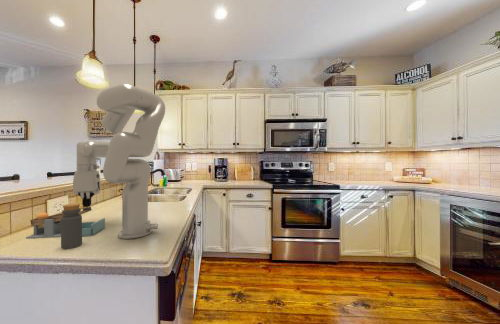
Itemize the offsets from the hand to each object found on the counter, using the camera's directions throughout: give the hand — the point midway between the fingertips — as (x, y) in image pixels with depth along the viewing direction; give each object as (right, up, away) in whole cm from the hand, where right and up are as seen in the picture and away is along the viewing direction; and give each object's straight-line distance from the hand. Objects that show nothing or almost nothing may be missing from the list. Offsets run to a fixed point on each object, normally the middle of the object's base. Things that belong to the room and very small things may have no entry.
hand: (86, 206), depth 101 cm
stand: (-4, -9, -12) cm, 15 cm away
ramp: (-4, -5, -7) cm, 9 cm away
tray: (+8, -9, -10) cm, 16 cm away
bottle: (+13, -9, -24) cm, 29 cm away
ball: (-9, -2, -13) cm, 15 cm away
